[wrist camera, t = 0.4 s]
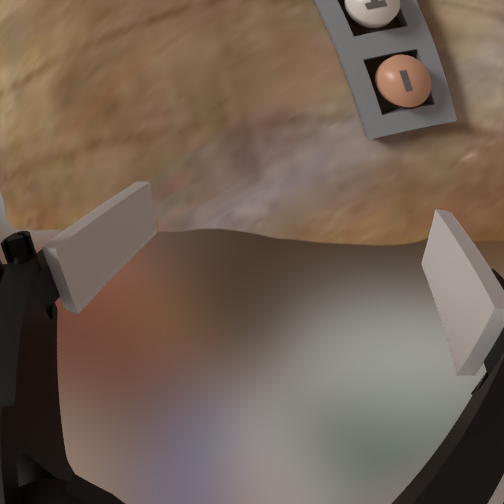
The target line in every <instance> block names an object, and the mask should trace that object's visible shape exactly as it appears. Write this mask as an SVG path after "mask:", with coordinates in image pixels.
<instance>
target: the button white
mask: <svg viewBox="0 0 504 504" xmlns="http://www.w3.org/2000/svg"><path fill="white" fill-rule="evenodd" d="M345 9H346V11H347V13H348V15H349V16H350V17H351V18H352V19H353V20H354V21H355V22H356V23H358V24H360V25H362V26H364V27H368V28H381V27H384V26H386V25H388V24H389V23H390V22H391V21H392V19H393V18H394V17H395V16H396V15H397V13H398V12H399V9H400V0H345Z"/></svg>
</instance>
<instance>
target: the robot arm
mask: <svg viewBox="0 0 504 504" xmlns="http://www.w3.org/2000/svg"><path fill="white" fill-rule="evenodd" d="M156 233H157V231H156V225H155V218H154V210H153V203H152V195H151V187H150V182H135V183H134V184H132V185H131V186H129V187H127V188H126V189H124V190H123V191H121V192H120V193H118V194H116V195H115V196H113V197H112V198H110V199H109V200H107V201H106V202H104V203H103V204H101V205H100V206H98V207H97V208H95V209H94V210H92V211H91V212H89V213H88V214H86V215H85V216H84V217H82V218H81V219H79V220H78V221H76V222H75V223H74V224H72V225H71V226H69V227H68V228H67V229H65V230H64V231H63V232H61V233H60V234H58V235H57V236H56V237H54V238H53V239H52V240H50V241H49V242H48V243H46V244H45V245H44V246H43V247H42V250H40V251H39V252H38V253H37V254H36V251H35V248H34V245H33V242H32V239H31V235H30V232H28V231H20V232H17V233H14V234H12V235H10V236H8V237H7V238H5V239H4V240H3V241H2V242H1V247H2V249H3V252H4V255H5V258H6V260H7V264H2V263H1V261H0V504H125V503H124V502H122V501H121V500H119V499H118V498H117V497H115V496H114V495H113V494H111V493H109V492H107V491H105V490H103V489H101V488H99V487H97V486H96V485H94V484H92V483H90V482H88V481H86V480H84V479H83V478H81V477H79V476H77V475H75V473H74V471H73V470H72V468H71V466H70V465H69V463H68V460H67V457H66V452H65V446H64V439H63V432H62V424H61V415H60V404H59V391H58V375H57V312H58V310H57V307H56V304H55V301H56V300H57V299H58V298H59V297H60V299H61V301H62V304H63V306H64V308H65V310H68V311H71V312H74V313H77V314H79V313H80V312H81V310H82V309H83V308H84V307H85V306H86V305H87V304H88V303H89V302H90V301H91V299H92V298H93V297H94V296H95V295H96V294H97V293H98V292H99V291H100V290H101V289H102V288H103V287H104V286H105V285H106V283H107V282H108V281H109V280H110V279H111V278H112V277H113V276H114V275H115V274H116V273H117V272H118V271H119V270H120V269H121V268H122V267H123V266H124V265H125V264H126V263H127V262H128V261H129V260H130V259H131V258H132V257H133V256H134V255H135V254H136V253H137V252H138V251H139V250H140V249H141V248H142V247H143V246H144V245H145V244H146V243H147V242H148V241H149V240H150V239H151V238H152V237H153V236H154V235H155V234H156ZM421 264H422V267H423V269H424V272H425V275H426V277H427V280H428V283H429V285H430V288H431V291H432V294H433V297H434V299H435V303H436V306H437V309H438V312H439V315H440V318H441V321H442V324H443V328H444V331H445V334H446V338H447V341H448V345H449V348H450V352H451V355H452V359H453V363H454V367H455V371H456V375H476V373H477V372H478V370H479V369H480V367H481V366H482V364H483V363H484V364H485V367H486V370H487V372H486V374H485V375H484V377H483V378H482V379H481V381H480V382H479V384H478V385H477V386H476V388H475V389H474V390H473V392H472V393H471V394H473V395H472V397H471V399H470V401H469V402H468V404H467V406H466V407H465V409H464V410H463V412H462V414H461V415H460V417H459V418H458V420H457V422H456V423H455V425H454V426H453V428H452V429H451V430H450V432H449V433H448V435H447V436H446V438H445V439H444V441H443V442H442V444H441V445H440V446H439V447H438V449H437V450H436V452H435V453H434V454H433V456H432V457H431V458H430V459H429V461H428V462H427V463H426V465H425V466H424V467H423V468H422V470H421V471H420V472H419V473H418V475H417V476H416V477H415V478H414V479H413V480H412V482H411V483H410V484H409V485H408V486H407V487H406V488H405V490H404V491H403V492H402V493H401V494H400V495H399V496H398V497H397V498H396V500H395V501H394V502H393V503H392V504H487V503H488V502H489V499H490V498H491V496H492V495H493V493H494V491H495V489H496V487H497V486H498V484H499V482H500V480H501V478H502V476H503V474H504V279H503V278H502V277H501V276H500V275H499V274H498V273H497V272H496V271H495V270H494V269H490V267H489V266H488V264H487V263H486V261H485V260H484V258H483V257H482V255H481V253H480V252H479V250H478V249H477V248H476V246H475V245H474V243H473V242H472V240H471V239H470V238H469V236H468V235H467V233H466V232H465V231H464V229H463V228H462V226H461V225H460V224H459V222H458V221H457V220H456V218H455V217H454V216H453V215H452V213H451V212H448V211H442V210H435V214H434V218H433V222H432V226H431V230H430V234H429V238H428V242H427V246H426V250H425V253H424V256H423V260H422V263H421ZM503 504H504V503H503Z"/></svg>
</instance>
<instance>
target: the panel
mask: <svg viewBox="0 0 504 504" xmlns="http://www.w3.org/2000/svg"><path fill="white" fill-rule="evenodd" d="M314 3H315V5H316V7H317V9H318V11H319V13H320V15H321V17H322V20H323V22H324V24H325V26H326V29H327V31H328V33H329V35H330V38H331V40H332V42H333V45H334V47H335V50H336V52H337V55H338V57H339V60H340V62H341V65H342V67H343V70H344V73H345V75H346V78H347V81H348V84H349V86H350V89H351V92H352V95H353V98H354V101H355V104H356V107H357V110H358V113H359V116H360V119H361V122H362V125H363V128H364V132H365V135H366V137H367V139H368V140H370V139H374V138H379V137H383V136H387V135H391V134H396V133H400V132H405V131H409V130H414V129H419V128H424V127H429V126H434V125H439V124H444V123H449V122H455V121H457V119H456V114H455V110H454V106H453V102H452V98H451V95H450V91H449V88H448V84H447V81H446V77H445V74H444V71H443V68H442V65H441V62H440V59H439V56H438V53H437V50H436V47H435V44H434V42H433V39H432V36H431V34H430V31H429V29H428V26H427V24H426V21H425V19H424V17H423V14H422V12H421V10H420V7H419V5H418V3H417V1H416V0H400V9H399V12H398V13H397V17H398V19H399V22H400V24H401V27H400V28H394V29H388V30H383V31H378V32H373V33H368V34H364V35H359V36H355V37H354V36H353V33H352V31H351V29H350V26H349V24H348V22H347V20H346V17H345V15H344V13H343V11H342V9H341V7H340V4H339V2H338V0H314ZM407 52H412V55H413V57H414V58H416V59H417V60H419V61H420V62H421V63H422V64H423V65H424V66H425V67H426V69H427V70H428V72H429V75H430V78H431V91H430V94H429V96H428V98H427V102H428V103H426V104H421V105H418V106H415V107H406V108H401V109H397V110H392V111H387V112H383V113H381V110H380V107H379V104H378V101H377V98H376V94H375V91H374V89H373V86H372V83H371V80H370V77H369V74H368V71H367V69H366V66H365V63H364V61H367V60H371V59H376V58H381V57H386V56H390V55H396V54H401V53H407Z"/></svg>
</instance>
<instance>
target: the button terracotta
mask: <svg viewBox="0 0 504 504" xmlns="http://www.w3.org/2000/svg"><path fill="white" fill-rule="evenodd" d="M375 83H376V87H377V89H378V91H379V93H380V94H381V95H382V96H383V98H385V99H386V100H387V101H388V102H390V103H392V104H395V105H399V106H403V107H415V106H418V105H420V104H422V103H423V102H424V101H425V100H426V99H427V98H428V96H429V94H430V91H431V78H430V75H429V72H428V70H427V69H426V67H425V66H424V65H423V64H422V63H421V62H420V61H419V60H417V59H416V58H414V57H411V56H408V55H395V56H392V57H390V58H388V59H387V60H385V61H383V62H382V63H381V64H380V65H379V67H378V68H377V71H376V74H375Z"/></svg>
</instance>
